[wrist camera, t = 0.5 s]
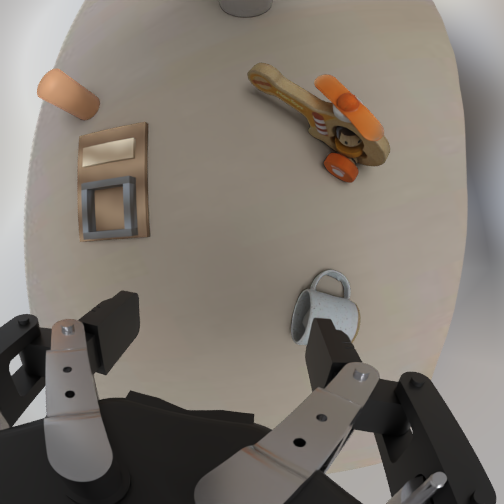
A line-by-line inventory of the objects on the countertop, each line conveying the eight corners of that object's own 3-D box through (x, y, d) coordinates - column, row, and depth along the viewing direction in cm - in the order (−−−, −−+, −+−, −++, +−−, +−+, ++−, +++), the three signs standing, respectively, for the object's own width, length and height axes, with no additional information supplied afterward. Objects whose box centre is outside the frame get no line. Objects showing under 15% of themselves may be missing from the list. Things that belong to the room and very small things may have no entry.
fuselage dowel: (79, 99, 35) (40, 74, 23) (101, 92, 35) (64, 64, 23) (76, 122, 36) (34, 102, 24) (98, 116, 36) (58, 92, 24)
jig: (83, 137, 36) (71, 133, 33) (148, 124, 36) (139, 116, 33) (83, 241, 38) (71, 243, 35) (149, 236, 39) (141, 238, 35)
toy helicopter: (350, 189, 38) (397, 179, 25) (233, 108, 36) (228, 62, 23) (376, 148, 38) (425, 126, 24) (264, 71, 36) (272, 18, 22)
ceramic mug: (336, 338, 41) (352, 359, 34) (287, 330, 41) (296, 352, 33) (355, 274, 40) (377, 285, 33) (306, 263, 40) (320, 273, 32)
